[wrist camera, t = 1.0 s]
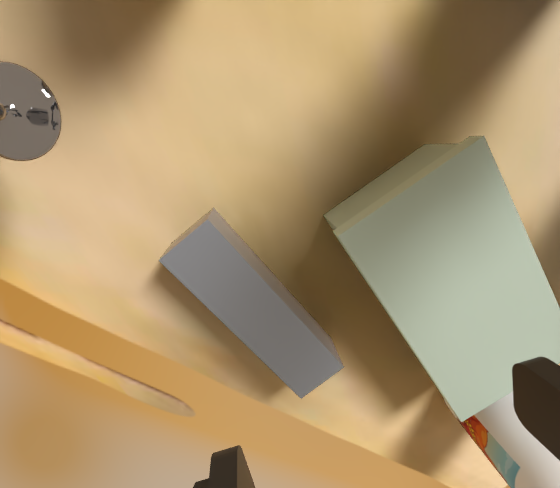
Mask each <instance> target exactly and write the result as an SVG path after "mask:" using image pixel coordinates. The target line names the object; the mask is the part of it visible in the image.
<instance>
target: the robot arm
mask: <svg viewBox="0 0 560 488" xmlns="http://www.w3.org/2000/svg"><path fill="white" fill-rule="evenodd" d="M512 381H513V405H514V410H515V413H516V415H517V417H518V419H519V420H520V422H521V423H522V425H523V426H524V427H525V428H526V429H527V431H528V432H530V433H531V434H532V435H533V436H534V437H535V438H536V439H537V440H538V441H539V442H540V443H541V444H542V445H543V446H544V447H545V448H547V449H548V450H549V451H550V452H551V453H552V454H553V455H554V456H555V457H556V458H557V459H558V460H559V461H560V366H559V365H558V364H556V363H555V362H553V361H551V360H550V359H548V358H546V357H536V358H533V359H530V360H526V361H523V362H520V363H516V364H514V365H513V367H512ZM210 465H211V466H210V476H209V478H208V479H205V480H202V481H198V482H196V483H195V485H194V487H193V488H255V486H254V482H253V479H252V477H251V474H250V471H249V468H248V466H247V462H246V460H245V457H244V454H243V451H242V448H241V447H240V446H235V447H232V448H228V449H225V450H222V451H219V452H215V453H213V454H212V457H211V464H210Z"/></svg>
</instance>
